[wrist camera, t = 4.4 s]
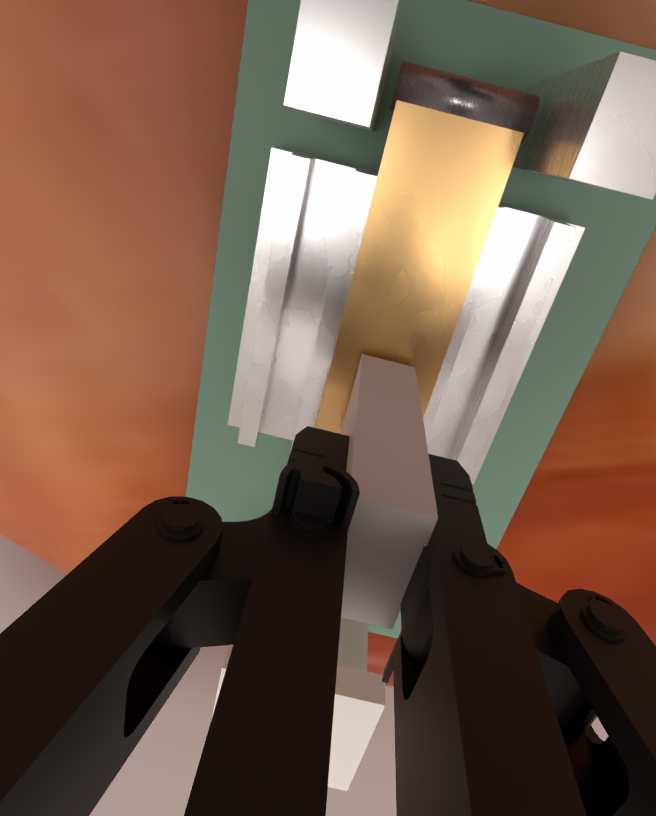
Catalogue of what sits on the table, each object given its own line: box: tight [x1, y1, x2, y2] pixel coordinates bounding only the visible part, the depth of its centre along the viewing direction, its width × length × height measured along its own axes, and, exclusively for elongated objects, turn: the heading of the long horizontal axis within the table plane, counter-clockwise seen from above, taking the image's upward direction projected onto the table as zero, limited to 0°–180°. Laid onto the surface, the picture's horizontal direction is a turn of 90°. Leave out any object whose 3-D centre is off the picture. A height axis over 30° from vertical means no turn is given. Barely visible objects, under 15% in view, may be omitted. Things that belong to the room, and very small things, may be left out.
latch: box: [211, 617, 385, 791], centre depth 20 cm, size 5×5×7 cm
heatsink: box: [228, 0, 656, 484], centre depth 14 cm, size 12×9×6 cm
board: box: [186, 0, 656, 638], centre depth 20 cm, size 24×13×1 cm, turn 167°
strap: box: [315, 61, 539, 434], centre depth 16 cm, size 16×3×1 cm, turn 167°
